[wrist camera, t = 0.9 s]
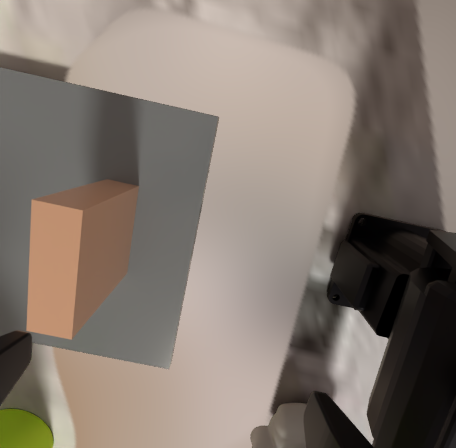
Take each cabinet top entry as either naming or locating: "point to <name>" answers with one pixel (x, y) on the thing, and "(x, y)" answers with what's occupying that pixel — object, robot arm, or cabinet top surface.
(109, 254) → the tile
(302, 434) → the grey lumpy pointed piece
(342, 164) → the cabinet top surface
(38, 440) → the soap dispenser
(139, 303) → the slate board
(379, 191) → the cabinet top surface
